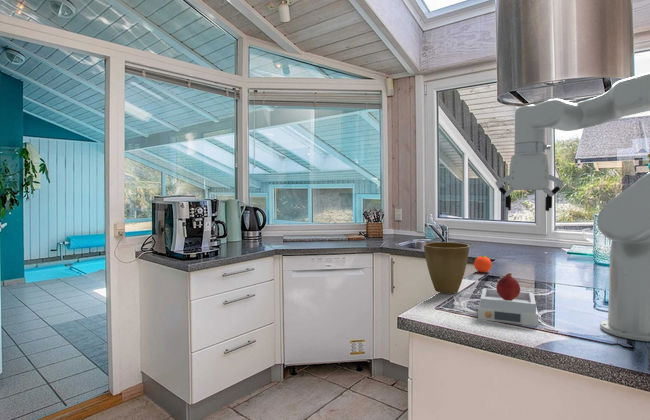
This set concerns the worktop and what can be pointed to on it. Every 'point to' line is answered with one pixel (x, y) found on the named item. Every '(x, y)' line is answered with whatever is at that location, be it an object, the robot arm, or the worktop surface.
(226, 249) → the worktop surface
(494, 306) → the scale
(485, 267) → the clementine
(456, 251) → the plant pot
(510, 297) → the onion
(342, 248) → the worktop surface
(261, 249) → the worktop surface
